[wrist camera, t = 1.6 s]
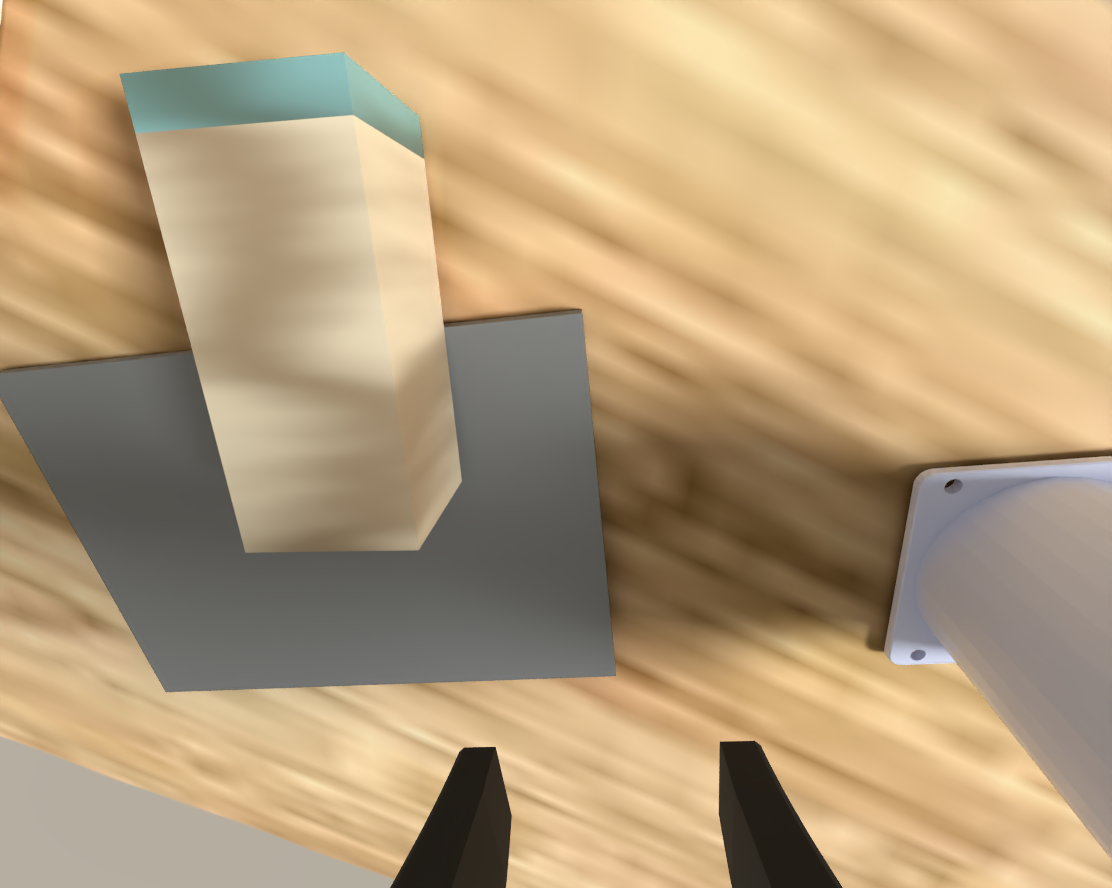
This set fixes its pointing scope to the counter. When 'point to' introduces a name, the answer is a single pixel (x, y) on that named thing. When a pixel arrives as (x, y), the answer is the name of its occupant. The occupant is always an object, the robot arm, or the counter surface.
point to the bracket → (0, 9)
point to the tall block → (306, 295)
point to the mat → (340, 576)
